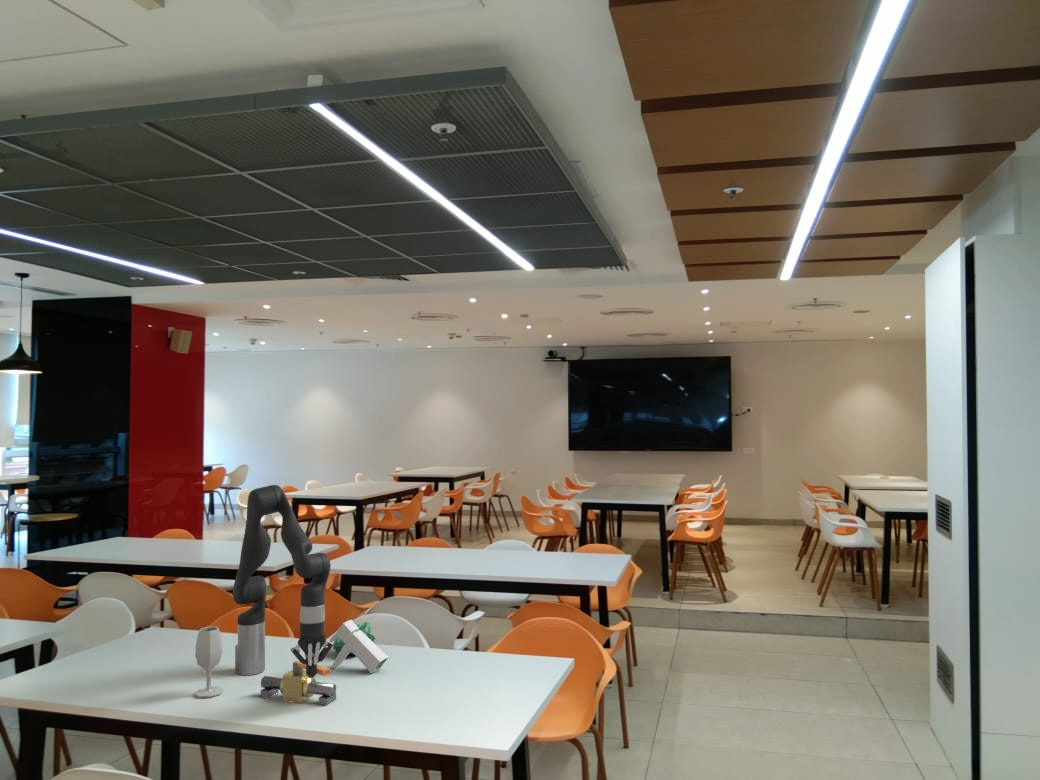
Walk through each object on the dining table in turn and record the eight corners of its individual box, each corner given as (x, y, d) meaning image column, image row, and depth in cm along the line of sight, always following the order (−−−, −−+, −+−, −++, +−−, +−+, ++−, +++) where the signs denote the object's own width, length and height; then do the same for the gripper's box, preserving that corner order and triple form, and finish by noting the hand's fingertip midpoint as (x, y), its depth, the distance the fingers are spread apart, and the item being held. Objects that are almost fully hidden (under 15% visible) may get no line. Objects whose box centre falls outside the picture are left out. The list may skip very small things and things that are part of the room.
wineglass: (195, 700, 238) (195, 633, 239) (193, 692, 246) (193, 627, 247) (224, 695, 242) (224, 629, 243) (221, 687, 250) (221, 623, 251)
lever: (290, 672, 239) (290, 661, 239) (299, 669, 241) (299, 658, 241) (322, 682, 228) (322, 670, 228) (331, 680, 231) (331, 668, 231)
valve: (258, 697, 240) (258, 672, 240) (270, 691, 246) (270, 666, 246) (327, 706, 231) (327, 680, 232) (338, 699, 237) (338, 674, 237)
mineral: (337, 646, 296) (337, 621, 296) (377, 644, 297) (377, 619, 298) (330, 660, 277) (330, 633, 278) (373, 658, 279) (373, 631, 279)
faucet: (380, 661, 260) (341, 621, 266) (354, 695, 263) (317, 654, 269) (389, 656, 266) (351, 617, 272) (364, 689, 269) (328, 649, 275)
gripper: (294, 625, 223) (293, 684, 222) (337, 618, 231) (336, 676, 230) (287, 620, 230) (286, 677, 229) (328, 614, 237) (327, 669, 236)
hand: (311, 676), depth 229 cm, fingers closed
